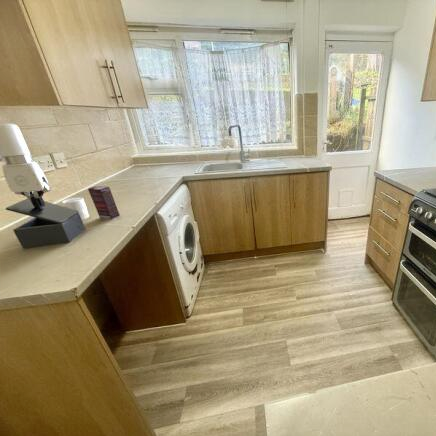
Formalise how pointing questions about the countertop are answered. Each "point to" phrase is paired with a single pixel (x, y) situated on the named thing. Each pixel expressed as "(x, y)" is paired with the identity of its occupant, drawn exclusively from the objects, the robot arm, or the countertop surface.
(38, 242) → the box
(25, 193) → the robot arm
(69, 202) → the white cup
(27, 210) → the lid
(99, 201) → the supplement box
